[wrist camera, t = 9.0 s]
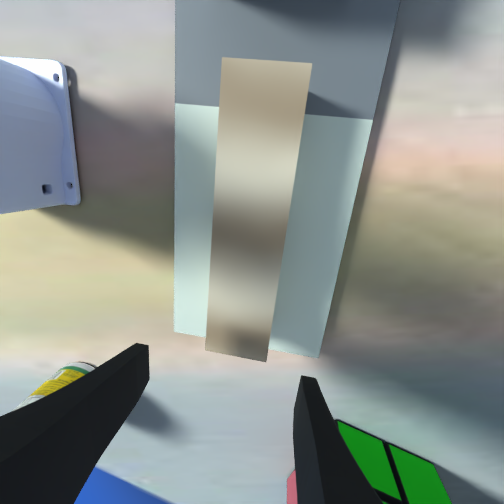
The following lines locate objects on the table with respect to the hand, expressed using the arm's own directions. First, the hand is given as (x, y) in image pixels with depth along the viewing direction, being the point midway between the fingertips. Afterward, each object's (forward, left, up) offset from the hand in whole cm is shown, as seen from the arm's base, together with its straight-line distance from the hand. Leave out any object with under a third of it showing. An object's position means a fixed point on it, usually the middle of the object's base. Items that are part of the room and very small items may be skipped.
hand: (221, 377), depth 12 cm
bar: (+6, 0, -8) cm, 10 cm away
